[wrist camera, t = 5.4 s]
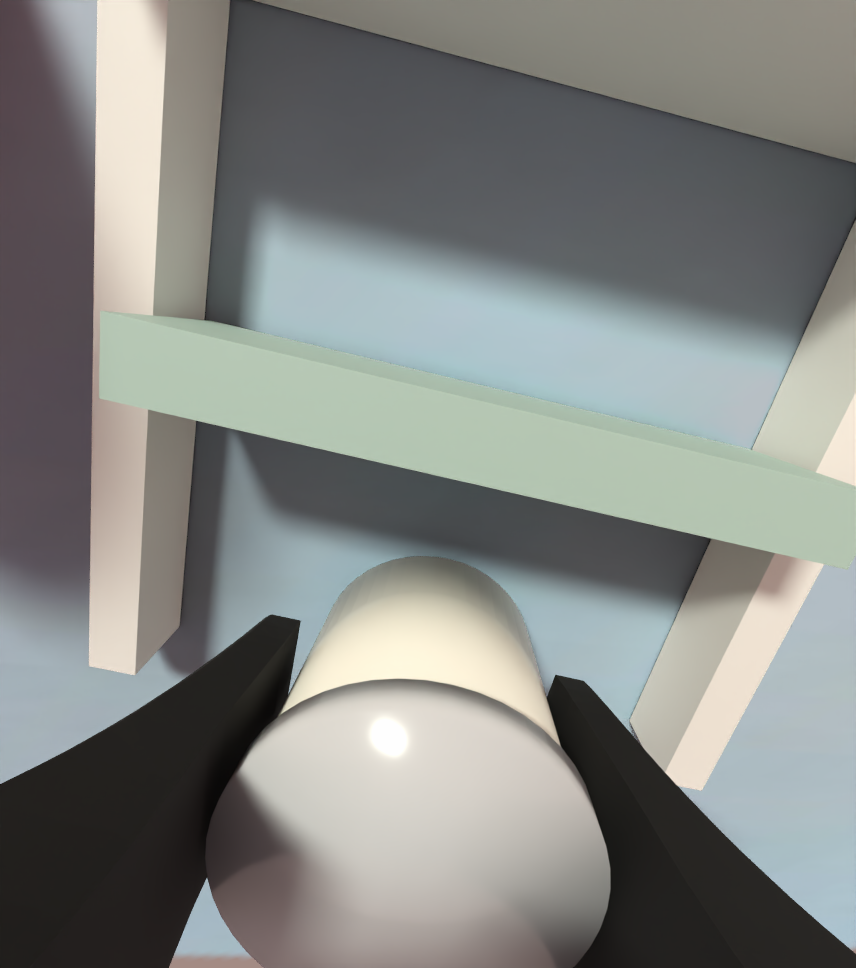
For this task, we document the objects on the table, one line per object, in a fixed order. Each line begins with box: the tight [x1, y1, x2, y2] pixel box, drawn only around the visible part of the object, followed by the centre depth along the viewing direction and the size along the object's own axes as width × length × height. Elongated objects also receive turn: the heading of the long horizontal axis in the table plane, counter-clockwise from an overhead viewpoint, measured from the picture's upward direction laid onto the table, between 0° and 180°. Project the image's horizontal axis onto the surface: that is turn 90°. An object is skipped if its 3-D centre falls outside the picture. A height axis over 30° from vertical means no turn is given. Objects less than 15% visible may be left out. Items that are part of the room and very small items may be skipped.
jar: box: [205, 556, 610, 968], centre depth 9 cm, size 5×5×5 cm
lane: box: [89, 0, 856, 791], centre depth 8 cm, size 14×14×4 cm
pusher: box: [99, 311, 856, 570], centre depth 8 cm, size 11×1×3 cm, turn 77°
